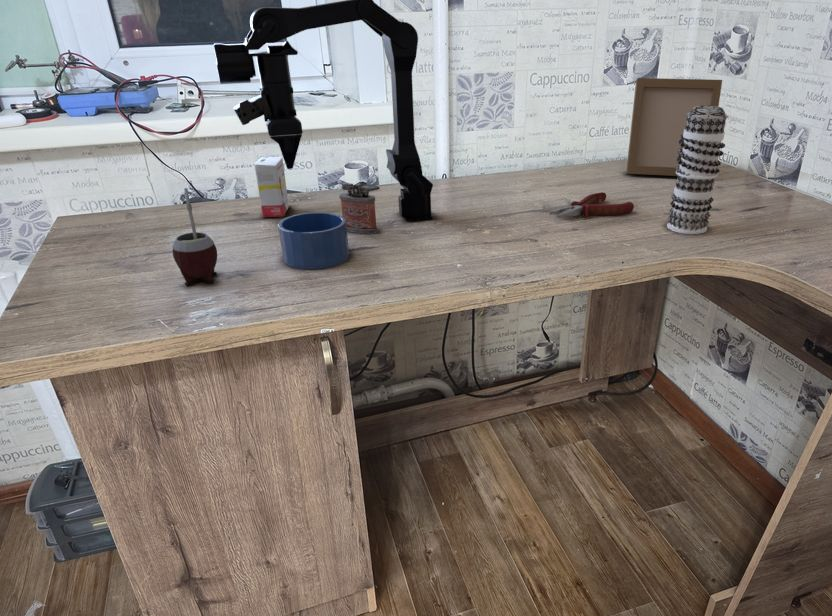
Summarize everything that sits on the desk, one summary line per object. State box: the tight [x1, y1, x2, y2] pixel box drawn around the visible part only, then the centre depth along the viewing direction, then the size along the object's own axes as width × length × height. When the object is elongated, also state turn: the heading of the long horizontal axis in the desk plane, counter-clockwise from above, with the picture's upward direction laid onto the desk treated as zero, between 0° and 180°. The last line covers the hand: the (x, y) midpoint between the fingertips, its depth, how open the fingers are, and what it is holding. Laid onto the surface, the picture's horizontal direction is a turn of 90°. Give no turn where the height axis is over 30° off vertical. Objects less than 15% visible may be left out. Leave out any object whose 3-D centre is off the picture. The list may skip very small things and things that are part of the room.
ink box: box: [253, 156, 290, 218], centre depth 143 cm, size 9×5×12 cm, turn 5°
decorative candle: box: [666, 105, 729, 235], centre depth 131 cm, size 9×9×25 cm
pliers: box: [548, 191, 635, 218], centre depth 146 cm, size 12×20×3 cm, turn 122°
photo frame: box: [625, 77, 723, 177], centre depth 174 cm, size 15×22×25 cm
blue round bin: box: [277, 211, 350, 270], centre depth 120 cm, size 12×12×7 cm
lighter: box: [338, 182, 379, 234], centre depth 133 cm, size 8×3×10 cm, turn 71°
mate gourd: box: [172, 187, 218, 287], centre depth 108 cm, size 8×8×15 cm
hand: (288, 163), depth 128 cm, fingers open, 9 cm apart
